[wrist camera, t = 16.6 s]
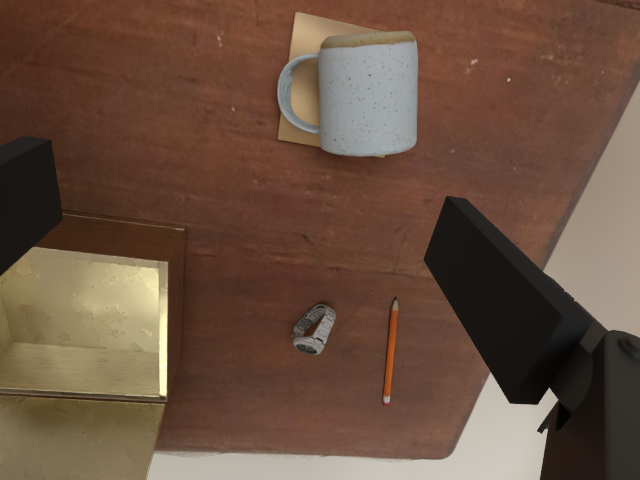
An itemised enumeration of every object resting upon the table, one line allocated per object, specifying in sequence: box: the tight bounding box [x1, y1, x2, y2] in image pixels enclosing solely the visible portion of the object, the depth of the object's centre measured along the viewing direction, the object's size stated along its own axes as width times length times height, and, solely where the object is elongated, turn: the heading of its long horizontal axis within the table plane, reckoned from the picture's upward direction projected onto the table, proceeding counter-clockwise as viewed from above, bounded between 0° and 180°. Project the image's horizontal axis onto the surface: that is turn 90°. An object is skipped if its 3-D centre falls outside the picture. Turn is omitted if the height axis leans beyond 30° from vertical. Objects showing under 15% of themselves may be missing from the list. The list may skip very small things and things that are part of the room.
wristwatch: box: [291, 304, 336, 354], centre depth 43 cm, size 4×6×5 cm, turn 139°
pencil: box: [383, 297, 399, 406], centre depth 49 cm, size 1×19×1 cm, turn 2°
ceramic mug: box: [277, 31, 418, 157], centre depth 29 cm, size 11×8×8 cm
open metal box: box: [0, 210, 186, 402], centre depth 38 cm, size 18×19×7 cm
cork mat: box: [277, 11, 417, 158], centre depth 33 cm, size 10×10×1 cm
